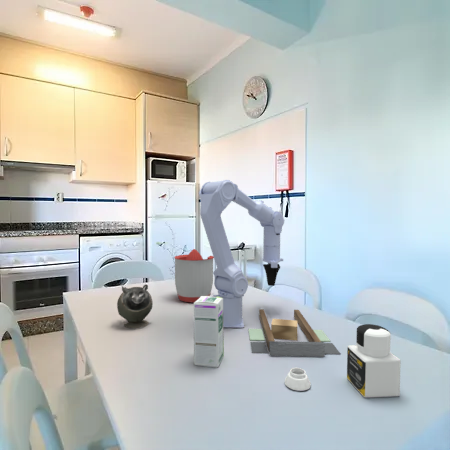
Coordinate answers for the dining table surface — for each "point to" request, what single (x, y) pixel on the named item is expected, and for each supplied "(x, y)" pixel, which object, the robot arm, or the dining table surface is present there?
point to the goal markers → (259, 336)
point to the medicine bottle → (373, 363)
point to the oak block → (284, 329)
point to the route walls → (300, 320)
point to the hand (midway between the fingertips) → (271, 285)
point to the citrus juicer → (193, 276)
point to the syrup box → (208, 331)
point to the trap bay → (294, 348)
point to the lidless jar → (297, 380)
